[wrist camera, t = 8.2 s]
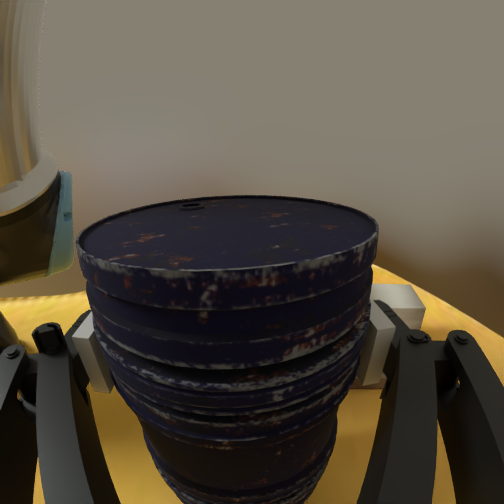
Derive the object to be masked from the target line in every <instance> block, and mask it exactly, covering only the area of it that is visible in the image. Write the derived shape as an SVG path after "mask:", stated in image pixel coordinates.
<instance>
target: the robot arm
mask: <svg viewBox="0 0 504 504" xmlns="http://www.w3.org/2000/svg"><path fill="white" fill-rule="evenodd" d="M46 4H47V0H0V286H4V285H9V284H13V283H18V282H23V281H28V280H32V279H37V278H42V277H48V276H50V275H51V274H55V273H58V272H61V271H65V270H67V269H68V268H70V267H71V265H72V264H73V261H74V238H73V221H72V175H71V173H69V172H64V171H61V172H59V171H58V164H57V160H56V158H55V157H54V155H53V154H51V153H50V152H48V151H46V150H44V149H42V140H41V129H40V113H39V65H40V50H41V39H42V30H43V22H44V14H45V9H46ZM370 302H371V312H370V320H369V324H368V330H367V334H366V338H365V343H364V346H363V348H362V350H361V360H360V366H359V370H358V373H357V376H358V378H359V380H360V382H361V384H362V386H365V385H370V384H375V383H379V381H380V378H381V375H382V372H383V373H384V374H385V376H386V378H387V380H386V382H385V385H384V388H383V390H382V393H381V396H380V398H379V399H382V403H381V409H380V415H379V420H378V425H377V430H376V435H375V439H374V444H373V448H372V452H371V456H370V460H369V464H368V468H367V471H366V475H365V478H364V482H363V485H362V488H361V492H360V495H359V498H358V501H357V504H432V496H433V488H434V480H435V469H436V455H437V418H438V422H439V426H440V429H441V433H442V437H443V440H444V444H445V448H446V453H447V457H448V461H449V466H450V471H451V476H452V481H453V486H454V492H455V498H456V504H504V387H503V385H502V383H501V381H500V380H499V378H498V376H497V374H496V373H495V371H494V369H493V368H492V366H491V364H490V363H489V361H488V359H487V358H486V356H485V354H484V353H483V351H482V350H481V348H480V347H479V345H478V343H477V342H476V340H475V339H474V338H473V337H472V335H470V334H469V333H467V332H466V331H463V330H453V331H451V332H449V334H448V336H447V339H446V341H432V340H431V337H430V336H429V335H428V334H427V333H425V332H423V331H421V330H417V329H410V328H409V327H408V326H407V325H406V324H405V323H404V322H403V320H402V319H401V318H400V317H399V316H397V314H396V313H395V312H394V311H393V309H392V308H391V307H390V306H389V305H388V304H386V303H384V302H383V301H381V300H372V299H371V297H370ZM32 337H33V339H34V342H35V344H36V346H37V349H38V351H39V354H28V355H27V352H26V350H25V348H24V346H22V345H21V344H20V341H19V339H18V337H17V334H16V332H15V330H14V329H13V328H12V326H11V325H10V324H9V322H8V321H7V320H6V318H5V317H4V315H3V314H2V313H1V311H0V504H33V494H34V482H35V473H36V465H37V458H39V467H40V475H41V482H42V488H43V494H44V499H45V504H121V503H120V501H119V498H118V496H117V493H116V490H115V488H114V485H113V482H112V479H111V476H110V473H109V470H108V467H107V464H106V461H105V458H104V454H103V451H102V447H101V444H100V440H99V436H98V432H97V428H96V424H95V420H94V415H93V410H92V406H91V400H90V395H89V393H88V391H87V389H86V387H87V385H88V383H89V381H90V383H91V385H92V387H93V389H94V391H97V392H104V393H111V391H112V388H113V386H114V383H113V380H112V378H111V375H110V369H109V366H108V365H107V363H106V361H105V359H104V356H103V354H102V351H101V349H100V346H99V343H98V340H97V337H96V333H95V331H94V328H93V319H92V311H91V310H88V311H86V312H85V313H83V314H82V315H81V316H80V317H79V318H78V319H77V320H76V322H75V323H74V324H73V325H72V327H71V328H70V329H69V330H68V332H67V333H66V334H65V335H63V332H62V329H61V327H60V325H59V324H58V323H53V322H51V323H45V324H42V325H40V326H39V327H37V328H36V329H35V330H34V331H33V333H32ZM458 380H459V382H460V385H459V383H458ZM17 392H19V394H20V395H21V397H20V399H19V400H18V399H17Z"/></svg>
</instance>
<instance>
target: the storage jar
mask: <svg viewBox="0 0 504 504" xmlns="http://www.w3.org/2000/svg"><path fill="white" fill-rule="evenodd" d="M378 232H379V229H378V223H377V222H376V221H375V219H373V218H372V217H371V216H369V215H368V214H366V213H364V212H362V211H359V210H357V209H354V208H351V207H348V206H344V205H340V204H336V203H332V202H327V201H320V200H314V199H306V198H297V197H286V196H266V195H234V196H214V197H202V198H191V199H183V200H175V201H169V202H162V203H157V204H151V205H147V206H142V207H138V208H134V209H130V210H127V211H123V212H120V213H117V214H114V215H111V216H108V217H106V218H103V219H101V220H99V221H97V222H95V223H93V224H91V225H89V226H88V227H87V228H85V229H84V230H83V231H81V233H80V234H79V235H78V236H77V239H76V247H77V252H78V258H79V263H80V267H81V270H82V273H83V276H84V277H85V278H86V279H87V285H86V293H87V297H88V300H89V304H90V308H91V311H92V319H93V328H94V331H95V333H96V337H97V340H98V343H99V346H100V349H101V351H102V354H103V356H104V359H105V361H106V363H107V365H108V366H109V369H110V375H111V378H112V380H113V383H114V385H115V387H116V389H117V391H118V392H119V394H120V395H121V396H122V397H123V399H124V400H125V402H126V403H127V405H128V406H129V407H130V408H131V409H132V411H133V412H134V413H135V414H136V415H137V417H138V419H139V421H140V424H141V426H142V428H143V434H144V439H145V442H146V445H147V447H148V450H149V452H150V454H151V456H152V459H153V461H154V463H155V466H156V468H157V470H158V471H159V473H160V474H161V476H162V477H163V479H164V480H165V482H166V483H167V485H168V486H169V487H170V488H171V489H172V490H173V491H174V493H175V494H176V495H177V497H178V498H179V499H180V501H181V502H182V503H184V504H303V503H304V502H305V501H306V500H307V499H308V498H309V497H310V495H311V494H312V492H313V491H314V489H315V487H316V485H317V483H318V481H319V480H320V478H321V476H322V474H323V473H324V471H325V469H326V466H327V464H328V461H329V458H330V456H331V454H332V452H333V448H334V445H335V441H336V434H337V415H336V414H337V411H338V407H339V405H340V403H341V402H342V401H343V399H344V398H345V397H346V395H347V393H348V391H349V389H350V387H351V385H352V384H353V382H354V380H355V377H356V375H357V373H358V370H359V366H360V360H361V350H362V348H363V346H364V343H365V338H366V334H367V330H368V324H369V320H370V312H371V302H370V294H371V288H372V281H373V270H372V267H371V265H372V263H373V261H374V259H375V257H376V251H377V242H378Z"/></svg>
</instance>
